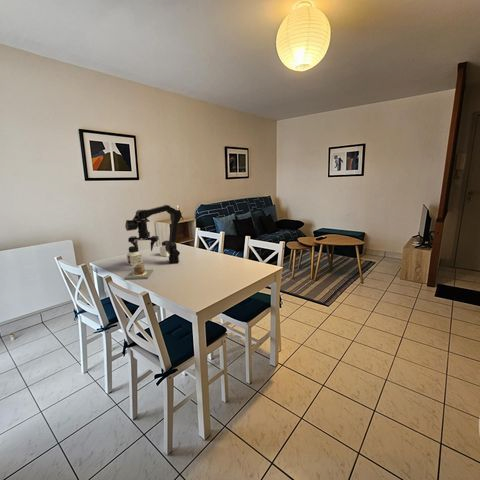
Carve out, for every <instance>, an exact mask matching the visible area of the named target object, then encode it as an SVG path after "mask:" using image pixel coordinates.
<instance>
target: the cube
mask: <svg viewBox="0 0 480 480" xmlns="http://www.w3.org/2000/svg"><path fill="white" fill-rule="evenodd" d="M133 270H134V274H135V275H143V273H144V272H145V270H146V269H145V264H138V265H134V266H133Z"/></svg>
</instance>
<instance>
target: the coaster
mask: <svg viewBox="0 0 480 480" xmlns="http://www.w3.org/2000/svg"><path fill="white" fill-rule="evenodd" d="M152 272H153V273H154V269H145V272H144V273H143V275H135V274H134V269H132V270H131V271H130V272H129V273H128V274H127V275H126V276H125V277H124V280H126V281H127V280H148V279H149V278H150V277H151V275H152V274H153V273H152Z"/></svg>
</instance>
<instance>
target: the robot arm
mask: <svg viewBox="0 0 480 480" xmlns="http://www.w3.org/2000/svg"><path fill="white" fill-rule="evenodd" d="M165 212H167V214H169V215H170V217H169V218H170V221H171V223H170V230H169V238H168V240H167V241H168V243H166V246H165V248H166V251H167V252H168V254H170V255H169V256H168V262H169V264H170V265H171V264H179V262H180V257H179V256H180V254H181V252H180V251H179V250H178V249H177V242H176V240H177V234H178V226H179V222H180V220H181V218H182V212H181V210H178V209H175V208H173V207H171V205H169V204H163V205H162V206H157V207H153V208H149V209H147V208H146V209H137V210H136V212H135V215H134V217H133V218H132V219H131V220H129V219H126V220H125V226H124V227H125V230H126V231H127V232H128V231H129V232H130V231H136V230H138V231H137V233H138V236H134V235H133V236H132V235H131V236H130V237H128V240H127V241H128V243H130V244H132V246H135V248H136V250H137V251H139V244H138V242H139V241H150V251H151V252H153V248H154V245H155V244H156V242H158V241H159V240H160V239H159V236H158V235H152V236H151V232H150V231H148V230H149V229H148V223H149V222H150V220H149V219H148V218H149V217H151V216H153V215H156V214H160V213H165ZM147 222H148V223H147Z"/></svg>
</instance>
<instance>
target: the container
mask: <svg viewBox="0 0 480 480" xmlns="http://www.w3.org/2000/svg"><path fill="white" fill-rule="evenodd" d="M125 256H126V263H127V264H128V265H130V266H133V267H135V266H136V265H142V264H143V255H142V253H141V252H139V251H137V250H136V248H135V246H134V245H131V246H130V247H128V253H126V255H125Z"/></svg>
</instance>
